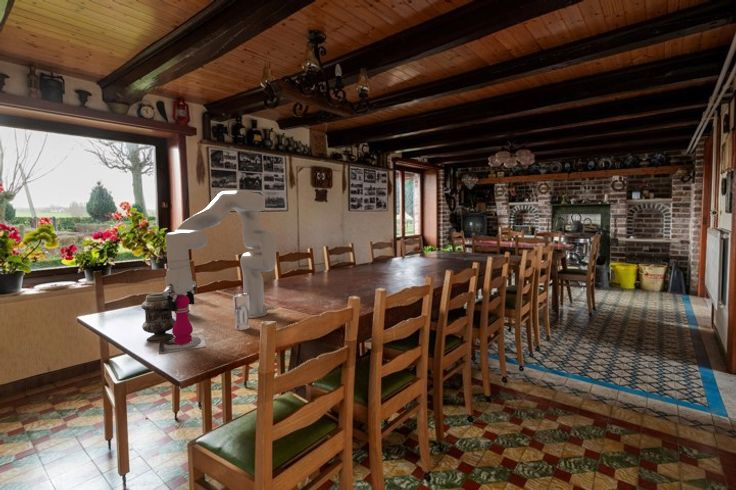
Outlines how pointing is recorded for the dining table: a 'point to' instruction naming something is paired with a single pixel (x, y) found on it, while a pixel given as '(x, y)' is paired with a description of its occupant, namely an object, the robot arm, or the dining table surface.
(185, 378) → the dining table surface
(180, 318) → the pepper mill
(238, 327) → the white drink can
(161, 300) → the stone urn vase
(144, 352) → the dining table surface
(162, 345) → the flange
